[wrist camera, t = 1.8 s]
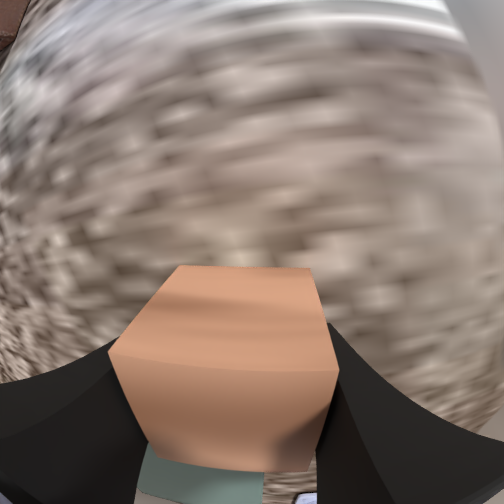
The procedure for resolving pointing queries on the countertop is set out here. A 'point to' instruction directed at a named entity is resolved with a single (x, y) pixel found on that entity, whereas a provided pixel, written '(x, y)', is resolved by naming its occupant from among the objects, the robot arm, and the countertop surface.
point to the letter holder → (11, 19)
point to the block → (230, 368)
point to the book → (198, 482)
